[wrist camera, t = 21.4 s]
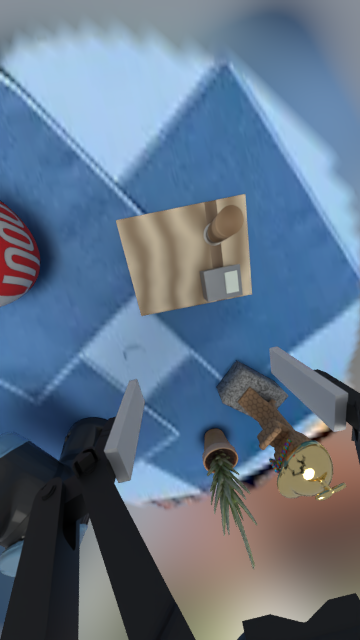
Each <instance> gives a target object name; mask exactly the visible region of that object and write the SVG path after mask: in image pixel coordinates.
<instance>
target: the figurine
mask: <svg viewBox="0 0 360 640" xmlns="http://www.w3.org/2000/svg"><path fill="white" fill-rule="evenodd" d="M216 388H217V390H218V393H219V395H220V397H221V400H222V402H223V403H224V404H226V405H228V406H230V407H232V408H234V409H236V410H238V411H240V412H242V413H245V414H247V415H249V416H251V417H253V418H254V419H255V420H257V421H258V422H259V424H260V425H261V427H262V429H263V430H262V431H261V432H260V433H259V434H258V436H257V438H258V440H259V442H260V444H259V447H260V448H261V449H262V450H264V449H265V448H266V447H267V446H268V445H271V446H272V447H274V450H275V453H274V457H275V460H273V459H271V458H270V459H269V461H270V463H271V465H272V467H273V468H274V470H275V472H277V473H279V475H278V480H277V487H278V490H279V492H280V493H281V495H283V496H285V497H287V498H297V497H300V496H315V495H316V497H315V498H316V500H325V499H327V498H329V497H330V496H331V495H332V494H333V493H335V492H338V491H340V490H342V489H343V488H345V487H346V485H345V483H341V484H339V485H337V486H335V487H333V488H330V487H329V484H330V483H331V480H332V475H333V464H332V460H331V457H330V455H329V453H328V452H327V450H326V449H325V448H324V447H323V446H322V445H321V444H320V443H319V442H317V441H311V440H310V439H309V438H308V437H307V436H305V435H304V434H302V433H299V432H297V431H295V430H294V429H293V428H292V426H291V425H290V424H289V423H288V422H287V421H286V420H285V418H284V417H283V416H282V415H281V414H280V412H279V411H278V410H277V408H278V407H279V406H280V405H281V404H282V403H283V402H284V400H285V399H286V398H287V397H288V395H287V394H286V393H285V392H284V391H283V390H282V389H281V388H280V387H279V385H278V384H277V383H276V382H275V381H273V380H271V379H269V378H267V377H266V376H264V375H262V374H260V373H258V372H257V371H255V370H253V369H251V368H249V367H248V366H246V365H244V364H242V363H240V362H239V361H237V360H236V362H235V363H234V364H233V366H232V367H231V369H230V370H229V371H228V373H227V374H226V375H225V377H224V378H223V379H222V381H221V382H220V383H219V385H218V386H217V387H216Z"/></svg>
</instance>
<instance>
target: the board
mask: <svg viewBox="0 0 360 640" xmlns="http://www.w3.org/2000/svg"><path fill="white" fill-rule="evenodd" d="M228 205H235V206H237V207H238V208H240V210H241V211H242V213H243V217H244V221H243V225H242V227H241V229H240V230H239V231H238V232H237V233H236V234H234V235H232V236H231V237H229V238H227V239H225V240H224V241H222V242H219V243H214V244H213V243H210V242H209V241H208V240H207V238H206V232H207V230H208V227H209V225H210V223H211V222H212V221H213V220H214V218H215V217H216V216H217V215H218V213H219V212H220V211H221V210H222V209H223V208H224V207H226V206H228ZM116 223H117V227H118V230H119V234H120V238H121V241H122V245H123V249H124V253H125V256H126V260H127V264H128V268H129V271H130V275H131V279H132V283H133V286H134V290H135V294H136V297H137V301H138V305H139V309H140V312H141V316H144V315H149V314H154V313H159V312H164V311H169V310H175V309H180V308H185V307H190V306H195V305H200V304H205V303H210V302H208V301H206V300H205V299H204V296H203V290H202V284H201V278H200V271H204V270H209V269H214V268H219V267H224V266H228V265H235V264H240V271H241V282H242V292H243V295H241V296H245V295H250V294H252V287H251V272H250V258H249V243H248V228H247V214H246V199H245V194H243V195H238V196H233V197H228V198H223V199H218V200H214V201H209V202H204V203H199V204H194V205H189V206H184V207H179V208H174V209H169V210H164V211H160V212H155V213H150V214H145V215H140V216H135V217H130V218H125V219H120V220H116ZM236 297H240V296H236ZM231 298H235V297H231ZM226 299H230V298H226ZM221 300H225V299H221ZM216 301H220V300H216ZM212 302H215V301H212Z"/></svg>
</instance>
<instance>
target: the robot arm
mask: <svg viewBox="0 0 360 640" xmlns="http://www.w3.org/2000/svg"><path fill="white" fill-rule="evenodd" d="M270 361H271V373H272V374H273V375H274V376H275V377H276V378H278V379H279V380H280V381H281V382H282V383H283V384H284V385H285V386H286V387H287V388H288V389H289V390H290V391H291V392H292V393H293V394H294V395H296V396H297V397H298V398H299V399H300V400H301V401H302V402H303V403H304V404H305V405H306V406H307V407H308V408H309V409H310V410H311V411H312V412H313V413H315V414H316V415H317V416H318V417H319V418H320V419H321V420H322V421H323V422H324V423H325V424H326V425H327V426H328V427H329V428H330V429H331V430H333V431H334V432H336V431H340V430H344V429H346V422H348V423H349V424H350V425H351V426H352V427H353V429H352V441H355V445H356V450H357V454H358V459H359V463H360V393H358V392H357V391H355V390H354V389H352V388H350V387H349V386H347V385H345V384H344V383H342V382H341V381H339V380H337V379H336V378H333V376H331V375H329V374H328V373H326V372H323V371H321V370H318V369H317V370H312V369H311V368H309V367H308V366H306V365H305V364H303V363H301V362H300V361H298V360H297V359H295V358H294V357H292V356H291V355H289V354H288V353H286V352H285V351H283V350H282V349H280V348H279V347H273V348H270ZM144 404H145V401H144V398H143V395H142V392H141V389H140V386H139V383H138V380H137V379H135V380H131V381H129V383H128V386H127V388H126V391H125V394H124V397H123V399H122V402H121V405H120V408H119V410H118V413H117V416H116V417H113V418H109V420H108V421H107V420H104V419H101V418H86V419H82V420H80V421H78V422H77V423H75V424H74V425H73V426H72V428H71V429H70V431H69V432H68V434H67V436H66V439H65V443H64V446H63V449H62V453H61V457H60V460H59V461H58V460H57V459H55V458H54V457H52V456H51V455H49V454H48V453H47V452H45V451H44V450H42V449H41V448H39V447H38V446H36V445H35V444H33V443H32V442H31V441H30V439H25V438H24V437H22V436H20V435H18V434H17V433H15V432H7V433H4V434H2V435H0V545H1V546H3V547H5V551H4V552H3V553H2V554H1V557H0V570H1V572H2V573H3V574H5V575H8V576H13V577H15V580H14V584H13V588H12V592H11V597H10V601H9V605H8V610H7V613H6V618H5V622H4V626H3V630H2V635H1V639H0V640H78V616H79V546H80V544H81V541H82V539H83V536H84V534H85V531H86V530H87V527H88V526H87V525H88V522H89V519H91V523H92V526H93V529H94V532H95V535H96V538H97V541H98V545H99V548H100V551H101V554H102V557H103V560H104V563H105V567H106V570H107V573H108V576H109V579H110V582H111V585H112V589H113V592H114V595H115V598H116V601H117V604H118V607H119V610H120V613H121V617H122V620H123V623H124V626H125V629H126V633H127V636H128V639H129V640H195V638H194V636H193V634H192V632H191V630H190V628H189V626H188V624H187V622H186V620H185V619H184V617H183V615H182V613H181V611H180V609H179V607H178V605H177V604H176V602H175V600H174V598H173V597H172V595H171V593H170V591H169V589H168V587H167V585H166V583H165V581H164V579H163V577H162V575H161V573H160V572H159V570H158V568H157V566H156V564H155V562H154V560H153V558H152V556H151V554H150V552H149V550H148V548H147V546H146V544H145V543H144V541H143V539H142V537H141V535H140V533H139V531H138V529H137V527H136V525H135V523H134V521H133V519H132V517H131V516H130V514H129V511H128V510H127V508H126V506H125V504H124V502H123V500H122V498H121V496H120V494H119V492H118V490H117V488H116V486H115V484H114V482H115V478H116V479H117V481H118V483H121V482H125V481H130V480H131V475H132V470H133V464H134V459H135V453H136V448H137V442H138V437H139V431H140V426H141V420H142V415H143V409H144ZM242 623H243V628H244V633H243V634H242V635H241V636H240V637H239V638H238V639H237V640H360V600H359V598H358V596H357V594H356V593H355V594H350V595H346V596H342V597H338V598H334V599H330V600H328V601H327V602H326V603H325V604H324V605H323V606H322V607H321V608H320V609H319V610H318V611H317V612H316V613H315V614H314V615H313V616H312V617H311V618H310V619H309V620H308V621H307V622H304V623H303V622H298V621H295V620H291V619H287V618H283V617H279V616H274V615H271V614H270V615H265V616H262V617H257V618H253V619H250V620H245V621H242Z"/></svg>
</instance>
